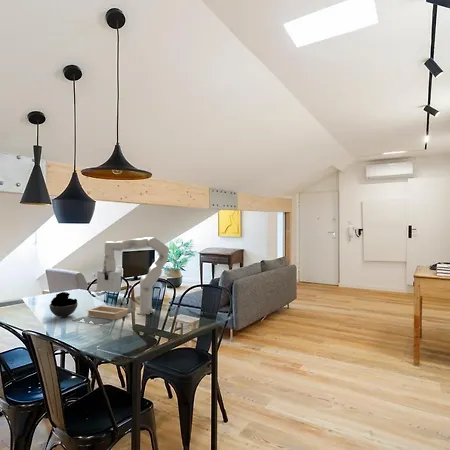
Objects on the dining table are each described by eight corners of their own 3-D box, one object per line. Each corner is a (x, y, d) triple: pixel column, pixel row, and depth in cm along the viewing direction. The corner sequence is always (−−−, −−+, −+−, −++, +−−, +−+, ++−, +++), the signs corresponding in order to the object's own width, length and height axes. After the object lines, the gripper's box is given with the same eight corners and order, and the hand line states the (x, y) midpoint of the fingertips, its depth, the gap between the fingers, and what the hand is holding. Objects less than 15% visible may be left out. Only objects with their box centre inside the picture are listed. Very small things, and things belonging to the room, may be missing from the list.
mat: (111, 321, 253) (111, 320, 253) (101, 325, 243) (101, 324, 243) (83, 317, 263) (83, 316, 263) (72, 320, 253) (72, 320, 253)
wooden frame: (128, 314, 274) (129, 308, 274) (113, 320, 256) (114, 313, 257) (102, 311, 283) (102, 305, 283) (86, 316, 266) (86, 310, 266)
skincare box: (121, 291, 268) (121, 271, 268) (116, 292, 263) (116, 272, 263) (101, 289, 277) (101, 270, 277) (96, 290, 272) (96, 270, 272)
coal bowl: (71, 312, 278) (72, 289, 279) (81, 317, 264) (81, 293, 264) (45, 316, 264) (46, 292, 265) (54, 321, 250) (54, 296, 250)
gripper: (105, 258, 261) (105, 281, 261) (120, 256, 277) (119, 278, 277) (98, 257, 264) (97, 280, 264) (112, 256, 280) (112, 277, 280)
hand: (108, 279), depth 270 cm, fingers closed on skincare box, 5 cm apart
